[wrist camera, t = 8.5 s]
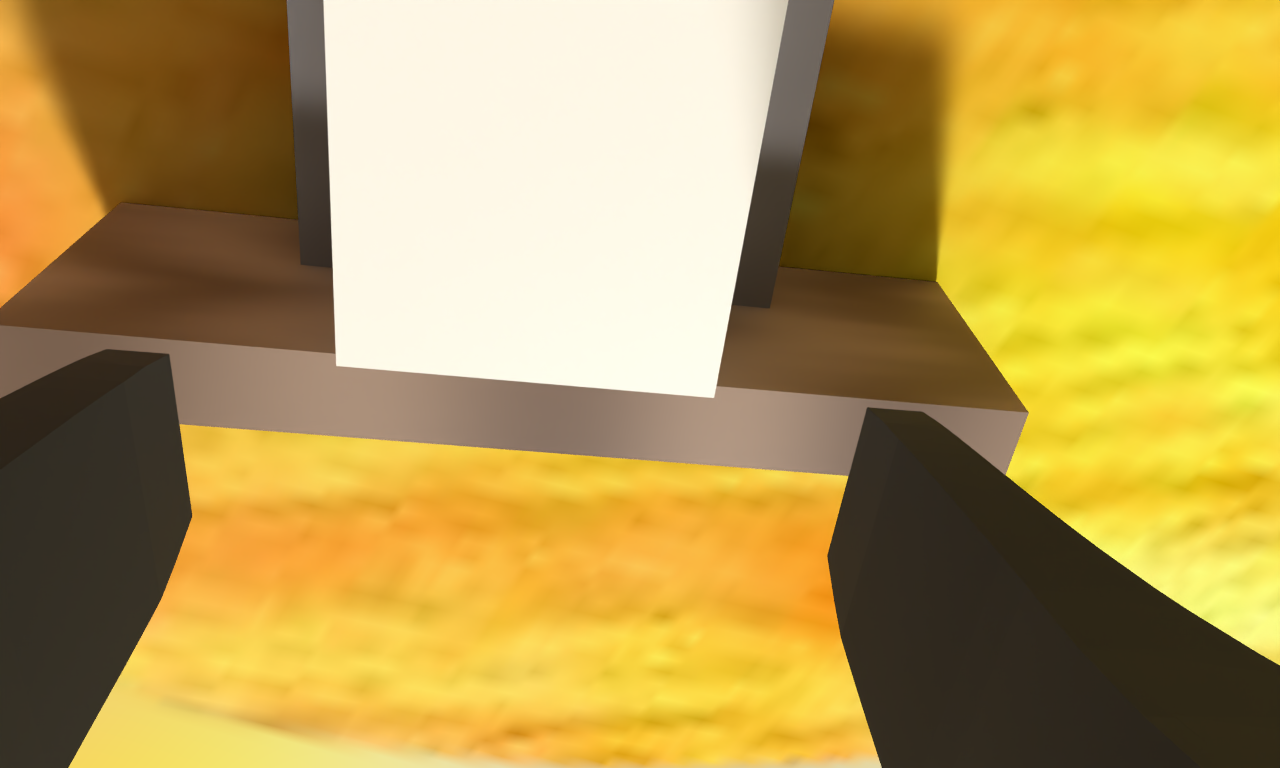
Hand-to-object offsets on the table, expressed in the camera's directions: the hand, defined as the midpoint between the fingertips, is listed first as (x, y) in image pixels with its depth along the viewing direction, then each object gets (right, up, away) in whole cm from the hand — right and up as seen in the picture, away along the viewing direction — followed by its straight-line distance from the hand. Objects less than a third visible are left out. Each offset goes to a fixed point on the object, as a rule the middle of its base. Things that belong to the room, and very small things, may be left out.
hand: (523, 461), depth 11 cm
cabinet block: (0, +7, +7) cm, 10 cm away
